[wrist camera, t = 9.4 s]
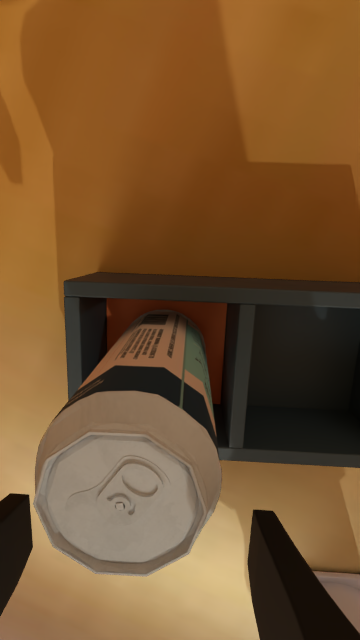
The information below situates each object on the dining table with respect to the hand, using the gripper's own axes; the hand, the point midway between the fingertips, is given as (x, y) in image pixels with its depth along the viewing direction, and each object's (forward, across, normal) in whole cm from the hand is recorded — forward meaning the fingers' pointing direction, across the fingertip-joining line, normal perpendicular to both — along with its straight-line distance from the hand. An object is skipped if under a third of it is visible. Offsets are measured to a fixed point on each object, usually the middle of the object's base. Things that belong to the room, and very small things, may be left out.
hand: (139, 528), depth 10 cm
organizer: (+10, -4, -3) cm, 11 cm away
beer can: (+10, 0, -3) cm, 10 cm away
